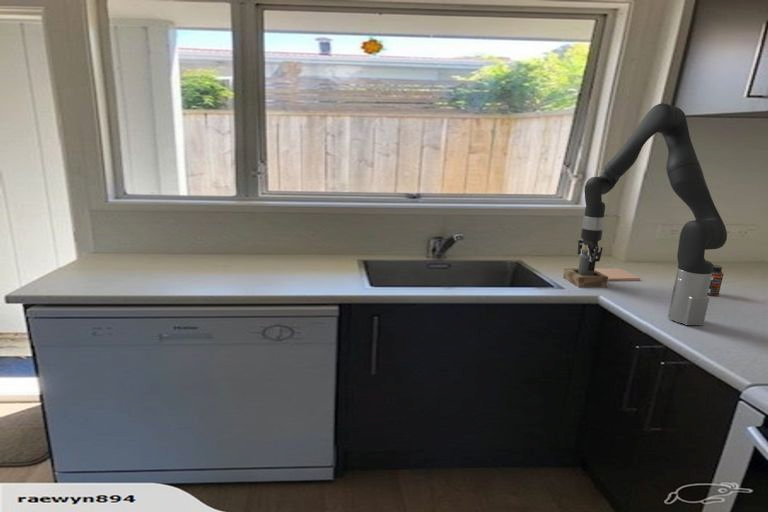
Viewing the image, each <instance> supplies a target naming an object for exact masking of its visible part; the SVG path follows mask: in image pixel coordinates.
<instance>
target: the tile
mask: <svg viewBox="0 0 768 512" xmlns="http://www.w3.org/2000/svg"><path fill="white" fill-rule="evenodd" d="M595 270H596V271H598V272H600V273H601V274H603V275H605V276H607V277H608V281H607V282H619V281H620V282H622V281H624V282H625V281H627V282H628V281H630V282H631V281H637V282H638V281H640V280H641V278H640V277H638V276H637V275H634V274H632V273H630V272H628V271H626V270H624V269H621V268H595Z"/></svg>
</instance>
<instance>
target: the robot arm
mask: <svg viewBox="0 0 768 512" xmlns="http://www.w3.org/2000/svg"><path fill="white" fill-rule="evenodd" d="M657 133H658V134H661V135H662V137H663V139H664V141H665V144H666V147H667V150H668V151H667V152H668V155H667V158H666V159H667V160H666V167H665V168H666V174H667V178H668V180H669V184H670V187H671V189H672V190H673V192H674V193H675V194H676V195H677V196H678V198H679V199H681V200H682V202H683V203H685V204H686V206H687V207H688V208H689V210H690V211H691V212H692V214H693V216H694V220H690V221H688V222H686V223H685V224H684V225H683V226H682V229H681V231H680V234H679V238H678V239H679V240H678V247H677V254H676V257H677V269H676V274H675V279H674V283H673V284H674V285H673V289H672V294H671V297H670V298H671V299H670V302H669V303H670V304H669V308H668V309H669V310H668V313H667V318H668V317H669V318H670V319H671V320H670V319H669V318H668V319H669V320H670V321H672V320H674V321H676V322H675V323H677V322H680V323H684V324H686V325H700V326H704V323H705V320H706V319H705V318H706V314H707V310H708V305H709V301H710V297H709V296H708V295H707V294H708V289H709V285H710V280H711V276H712V272H713V265H714V263H712V262H711V261H709V260H706V258H705V251H706V250H718V249H720V248H722V247H724V245H726V242H727V238H728V232H727V227H726V225H725V223H724V221H723V219H722V217H721V215H720V213H719V211H718V209H717V206H716V205H715V203H714V200H713V198H712V195H711V192H710V191H709V188H708V185H707V182H706V179H705V175H704V172H703V169H702V166H701V164H700V161H699V159H698V156H697V154H696V151H695V147H694V146H693V143H692V140H691V135H690V131H689V126H688V121H687V117H686V114H685V112H684V111H683V110H682V109H681V108H680V107H678V106H675V105H671V104H669V103H664V102H662V103H657V104H655V105H654V106H652V108H650V109H649V110H648V112H647V113H646V114H645V115H644V117H643V118H642V120H641V122H640V123H639V124H638V126H637V127H636V128H635V130H633V133H632V134H631V135H630V137H628V140H626V142H625V143H624V144H623V146H622V147H621V148H620V150H619V151H617V153H616V154H615V155H614V156H613V157H612V158H611V159H610V160H609V161H608V162H607V163H606V164H605V165H604V167H603V170H604V171H603V172H602V173H601V175H600V176H592V177H590V178H589V179H588V180H587V181H586V182H585V184H584V199H585V200H584V201H585V209H584V210H585V211H584V217H583V220H582V225H581V226H582V227H581V233H580V238H581V239H579V240H578V241H577V242H578V243H577V255H579V257H580V256H581V255H582V254H583V252H582V249H584V247H583V245H586V246H587V248H586V249H587V251H588V256H589V261H590V262H589V267H588V270H589V271H594V269H596V263H597V262H600V261H601V257H602V253H603V249H604V248H603V247H600V246H599V242H600V241H601V240H602V238H603V237H602V236H603V230H604V225H605V224H604V222H605V221H604V220H605V219H604V218H605V213H606V204H605V202H603V200H602V197H603V196H602V195H606V194H608V193H610V191H611V190H612V189H614V187H615V185H616V184H617V183H618V182H619V180H620V178H621V177H623V175H624V174H626V173H627V172H628V171H629V169H631V167H632V166H633V165H634V164H635V163H636V162H637V160H638V157H639V156H640V153H641V151H642V149H643V147H644V145H645V144H646V143H647V142H648V140H649V139H651V137H653V136H654V135H655V134H657ZM590 252H594V254H591V253H590ZM592 256H593V258H592ZM674 321H673V322H674ZM680 323H679V324H680Z"/></svg>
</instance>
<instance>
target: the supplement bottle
mask: <svg viewBox="0 0 768 512" xmlns="http://www.w3.org/2000/svg"><path fill="white" fill-rule="evenodd" d="M722 268H723V267H722V266H721V265H717V264H713V272H712V276H711V280H710V285H709V289H708V294H707V296H708V297H709V296H710V297H716V296H719V295H720V291H721V288H722V287H721V285H722V282H723V279H724V273H723V271H722Z"/></svg>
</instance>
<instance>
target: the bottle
mask: <svg viewBox="0 0 768 512" xmlns="http://www.w3.org/2000/svg"><path fill="white" fill-rule="evenodd" d="M583 247H584V249H582V252H583V254H582V255H581V256H580V255H579V263H578V268H579V270H578V274H580V275H582V276H593V275H594V271H589V270H588V267H589V262H590V261H589V256H588V251H587V249H586V248H587V246H586V245H583ZM590 253H591V254H594V252H590ZM592 258H593V256H592ZM595 269H596V268H595ZM595 269H594V270H595Z"/></svg>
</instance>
